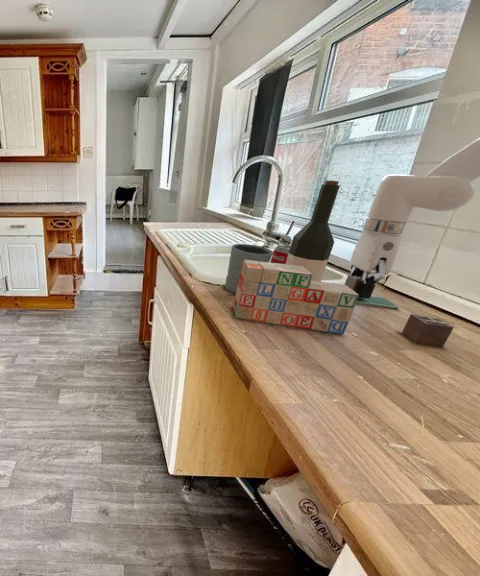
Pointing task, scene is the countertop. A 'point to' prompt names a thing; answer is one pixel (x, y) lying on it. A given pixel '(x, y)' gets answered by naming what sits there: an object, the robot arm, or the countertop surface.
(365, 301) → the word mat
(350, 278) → the dark brown cube
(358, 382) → the countertop surface
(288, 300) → the stack of blocks
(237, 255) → the grey cylindrical pot
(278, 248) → the beverage can
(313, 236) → the wine bottle
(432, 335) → the dark brown wooden box
